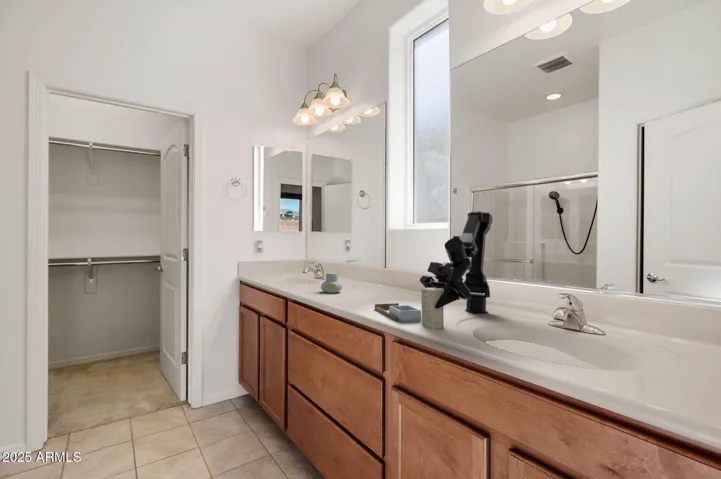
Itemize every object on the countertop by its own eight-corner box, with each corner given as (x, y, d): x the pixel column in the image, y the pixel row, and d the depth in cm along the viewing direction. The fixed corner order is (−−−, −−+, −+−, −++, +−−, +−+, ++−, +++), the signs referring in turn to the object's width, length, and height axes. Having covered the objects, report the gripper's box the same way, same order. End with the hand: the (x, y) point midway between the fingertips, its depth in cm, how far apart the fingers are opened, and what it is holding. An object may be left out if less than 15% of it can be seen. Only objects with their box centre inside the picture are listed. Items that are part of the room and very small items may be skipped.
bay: (397, 309, 140) (397, 303, 140) (421, 320, 121) (421, 313, 121) (374, 310, 137) (374, 303, 137) (394, 321, 118) (395, 314, 118)
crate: (408, 315, 128) (408, 305, 128) (420, 321, 118) (421, 310, 118) (389, 316, 125) (389, 305, 125) (400, 322, 116) (400, 311, 116)
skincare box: (444, 328, 110) (444, 289, 110) (432, 329, 108) (433, 290, 108) (431, 323, 116) (431, 286, 116) (420, 325, 113) (420, 287, 114)
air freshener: (343, 291, 184) (343, 272, 184) (340, 294, 176) (341, 274, 176) (322, 290, 185) (323, 272, 185) (319, 293, 177) (319, 273, 177)
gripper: (424, 252, 122) (397, 285, 117) (464, 254, 105) (434, 293, 100) (441, 274, 126) (416, 307, 120) (482, 280, 109) (454, 318, 104)
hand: (428, 306), depth 111 cm, fingers closed on skincare box, 6 cm apart
